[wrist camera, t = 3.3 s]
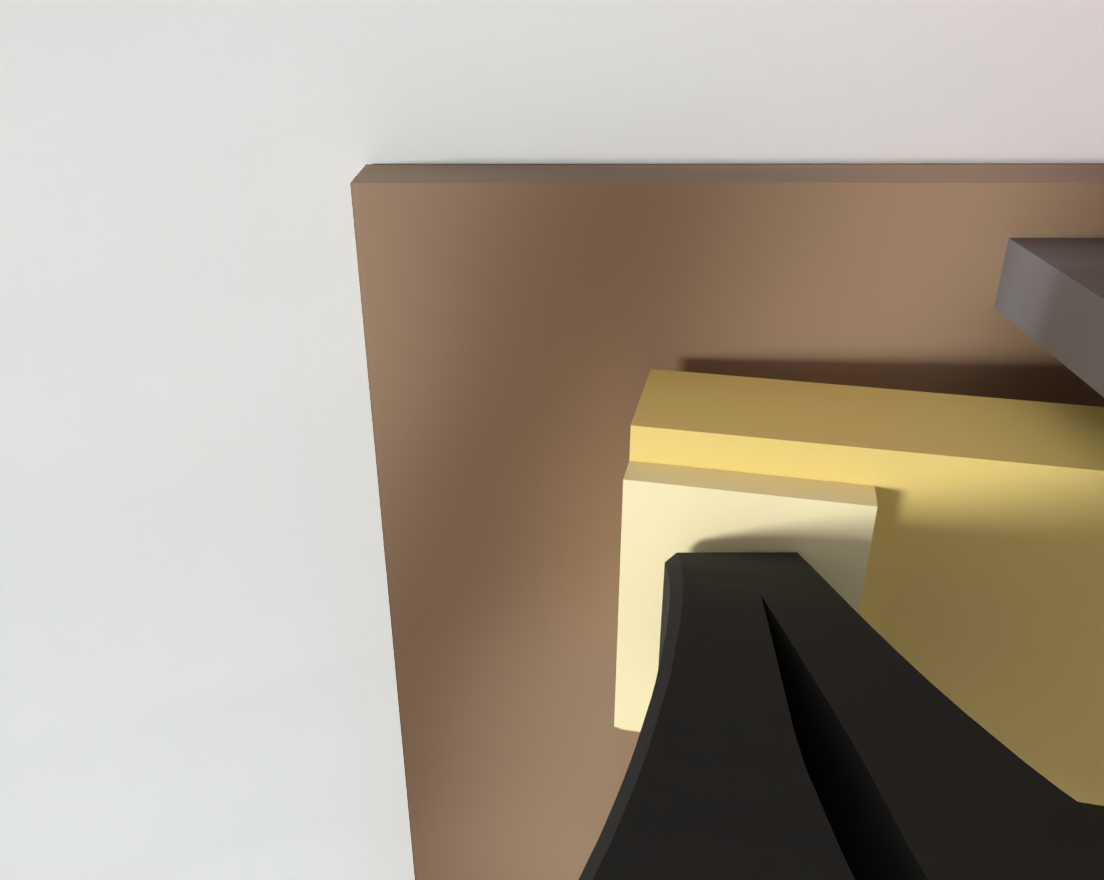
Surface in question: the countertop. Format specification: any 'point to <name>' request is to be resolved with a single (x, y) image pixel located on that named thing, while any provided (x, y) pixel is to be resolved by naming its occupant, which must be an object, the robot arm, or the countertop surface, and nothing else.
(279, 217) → the countertop surface
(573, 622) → the walnut board
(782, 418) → the yellow rectangular block
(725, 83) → the countertop surface
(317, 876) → the countertop surface
